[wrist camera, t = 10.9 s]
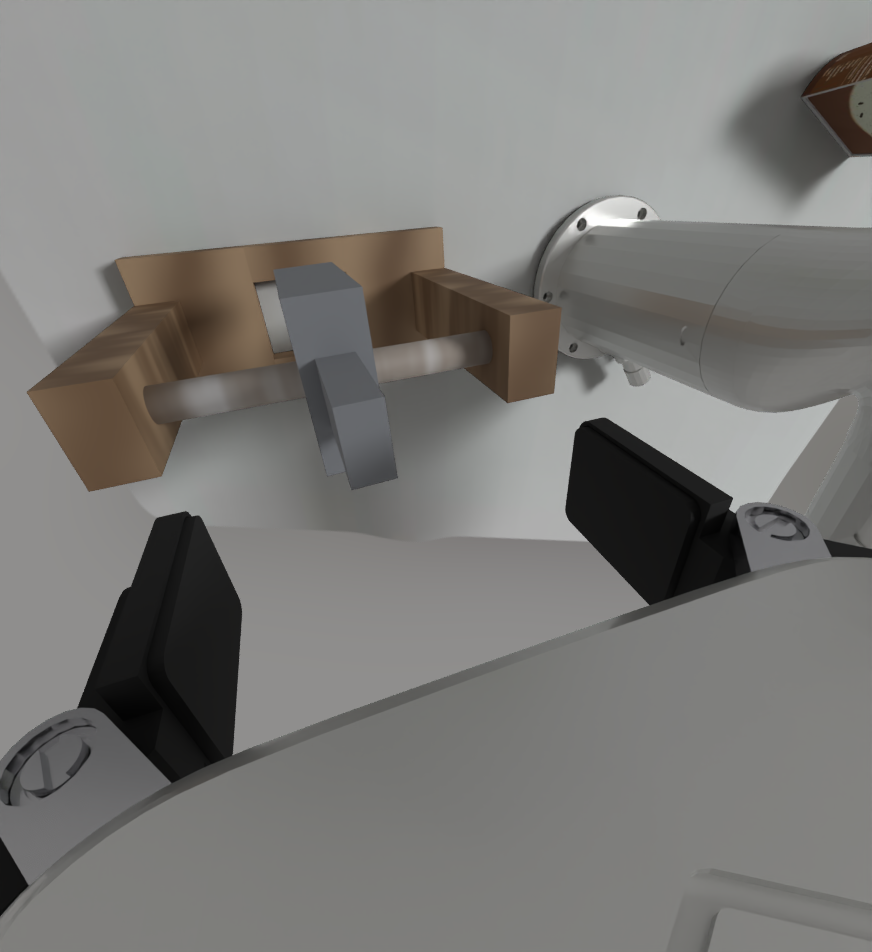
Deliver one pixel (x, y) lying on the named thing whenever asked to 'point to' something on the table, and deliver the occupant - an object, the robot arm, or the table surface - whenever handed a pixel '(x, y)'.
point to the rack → (249, 348)
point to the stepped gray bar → (338, 371)
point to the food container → (845, 100)
